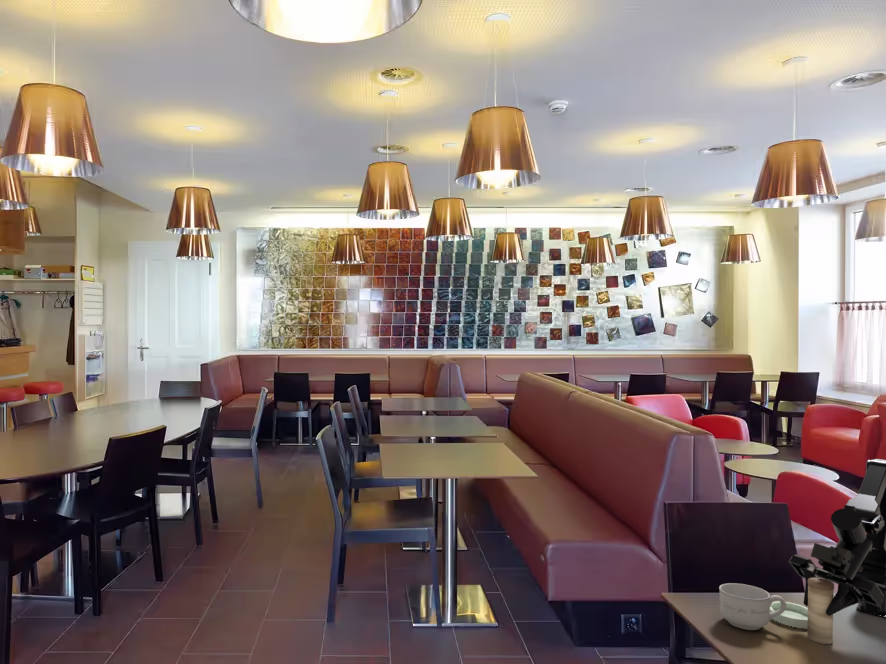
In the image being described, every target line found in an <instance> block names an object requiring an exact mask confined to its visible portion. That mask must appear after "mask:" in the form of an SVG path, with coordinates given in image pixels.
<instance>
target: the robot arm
mask: <svg viewBox="0 0 886 664" xmlns="http://www.w3.org/2000/svg"><path fill="white" fill-rule="evenodd" d="M865 465H866V466H865V475H864V477H863V480H862V481H861V485H860V488H859V490H858V493H857V495H856V496H855V497H853V498H850V499H848V501H847V502H846V504H844V507H843V508H842V507H841V508H839V509H836V510H835V511H834V512H832V513H831V515H830V520H831V523H832V527H833V529H834V531H835V534H836V536H837V538H838V539H839V540H838V542H837V544H836V545H835V546H832V545H831V546H825V545H823V544H819V543H816V542H814V544H813V547H812V549H811V550H812V551H811V554H810V557H811V558H815V559H816V560H818V561H817V564H819V565H820V567H818V566H816V564H815V563H814V561H813V560H812V559H811V558H809V557H806V556H803V555H800V554H793V555H792V556H791V557H790V559H789V560H788V563H789V565H790V566H791V567H792V568H793V570H794V571H795V572H796V574H797V575H798V576H800V577H801V578H802V579H805V585H804V586H805V587H804V596H803V606H805V607H808V579H809V578H821V579H825V580H828V581H830V582H832V583H834V584H836V585H838V586H837V591H836V593H835V595H833V600H832V601H831V603H830V604H829V606H828V608H827V611H826V614H827V615H828V616H831V615H833V616H834V615H835V614H836V613H839V612H840V611H842V610H845V609H847V608H848V607H851V606H854V605H856V604H857V606H856V608H855V609H856V611H858V612H863V613H867V614H871V615H874V614H875V615H874V616H877V615H881V616H885V615H886V459H880V458H873V459H868V460H866V463H865ZM821 567H822V568H821ZM881 616H880V617H881Z"/></svg>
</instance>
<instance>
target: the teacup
mask: <svg viewBox="0 0 886 664" xmlns="http://www.w3.org/2000/svg"><path fill="white" fill-rule="evenodd" d="M718 589H719V610H720V613H721V616H722V617H723V618H724V619H725V620H726V621H727V623H729V625H731V626H733V627H735V628H738V629H741V630H747V631H757V630H760V629H762V628H763V627H765V626H766V625H767V624H768V623H769V621H771V620H772V618H773V617H776V616H778V615H780V614H782V613H783V612H784V611H785V609H786V602H787V601H786V600H785V599H784V598H783V597H782V596H781V595H778V594H773V595H770V593H769V592H768V591H766V590H764V589H763V588H761V587H758V586H755V585H749V584H744V583H733V582H732V583H731V582H728V583H723V584H720V585H719V587H718ZM775 601H780V602H781V607H780V608H779V609H778V610H776V611H774V612H770V606H771V605H772V602H775ZM772 621H773V620H772Z"/></svg>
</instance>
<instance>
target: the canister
mask: <svg viewBox="0 0 886 664" xmlns="http://www.w3.org/2000/svg"><path fill="white" fill-rule="evenodd" d="M834 589H835V583H834V582H831V581H828V580H826V579H823V578H809V579H808V606H807V608H808V623H807V629H806V630H807V631H806V632H807V633H806V634H807V637H806V638H808V639H809V640H810V641H813V642H815V643H819V644H823V645H831V644H833V641H834V640H833V638H834V635H833V632H834V631H833V630H834V614H833V615H831V616H828V615H827V614H826V611H827V608H828V606H829V604H830V603H831V601H832V600H833V598H834Z"/></svg>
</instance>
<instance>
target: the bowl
mask: <svg viewBox="0 0 886 664" xmlns="http://www.w3.org/2000/svg"><path fill="white" fill-rule="evenodd" d="M785 602H786V609H785V611H784V612H783V613H782V614H780V615H778V616H776V617H773V618H772V619H773V620H772V621H774V620H775V621H774V622H776V621H777V622H776V623H778V622H779V623H778V624H780V623H782V624H781V625H783V624H785V625H784V626H786V625H789V626H788V627H790V626H792V627H791V628H793V627H797V629H802V628H803V629H804V630H807V623H808V606H805V605H803V604H802V605H801V604H798V603H796V602H795V603H794V602H790V601H785ZM780 607H781V602H780V601H779V600H775V601H773V602H772V605H771V606H770V612H774V611H776V610H778V609H779V608H780Z"/></svg>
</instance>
